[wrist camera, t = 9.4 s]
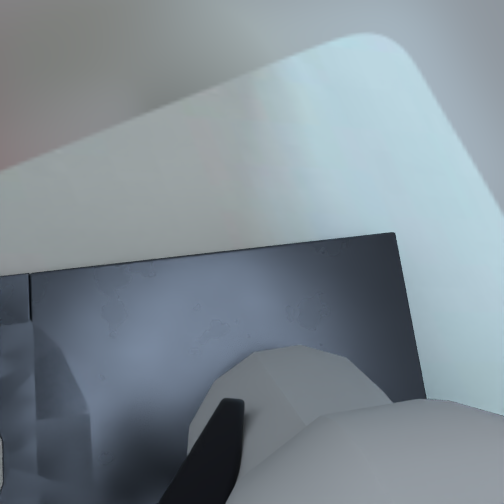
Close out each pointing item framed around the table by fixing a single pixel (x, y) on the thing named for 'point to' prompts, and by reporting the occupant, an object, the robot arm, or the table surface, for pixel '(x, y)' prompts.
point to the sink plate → (176, 354)
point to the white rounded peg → (351, 437)
